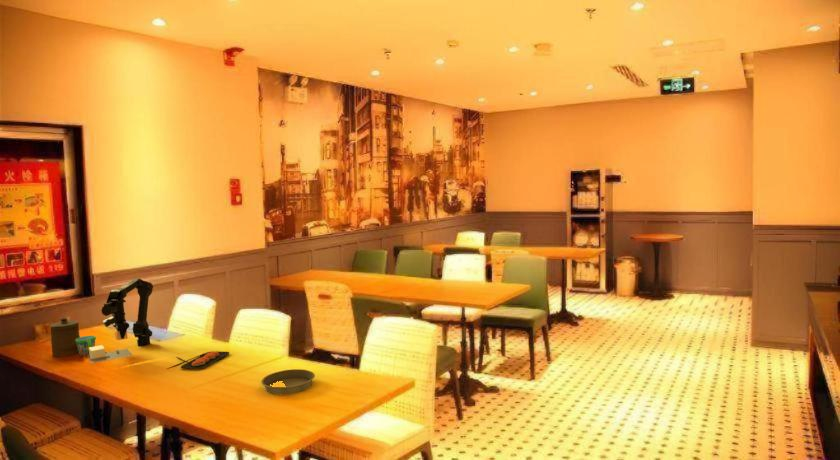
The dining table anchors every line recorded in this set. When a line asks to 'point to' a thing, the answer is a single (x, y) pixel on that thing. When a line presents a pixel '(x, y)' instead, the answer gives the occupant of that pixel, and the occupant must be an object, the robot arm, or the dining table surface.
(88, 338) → the snack cup
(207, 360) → the sushi plate
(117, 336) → the orange hollow square block
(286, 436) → the dining table surface
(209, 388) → the dining table surface
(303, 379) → the cake pan
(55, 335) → the dark grey canister
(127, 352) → the base plate
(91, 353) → the cover
